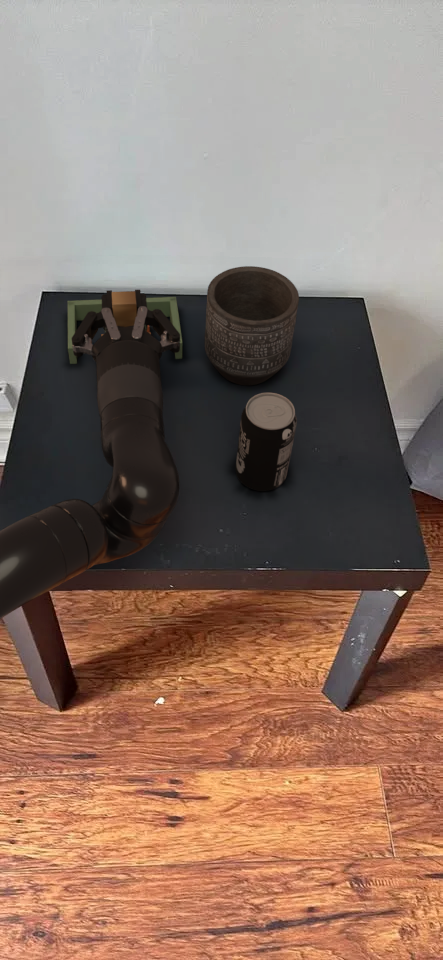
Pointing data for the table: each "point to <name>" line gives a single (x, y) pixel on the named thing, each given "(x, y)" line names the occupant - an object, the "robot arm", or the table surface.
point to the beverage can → (265, 441)
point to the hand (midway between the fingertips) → (123, 295)
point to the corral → (82, 307)
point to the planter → (250, 323)
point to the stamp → (124, 308)
